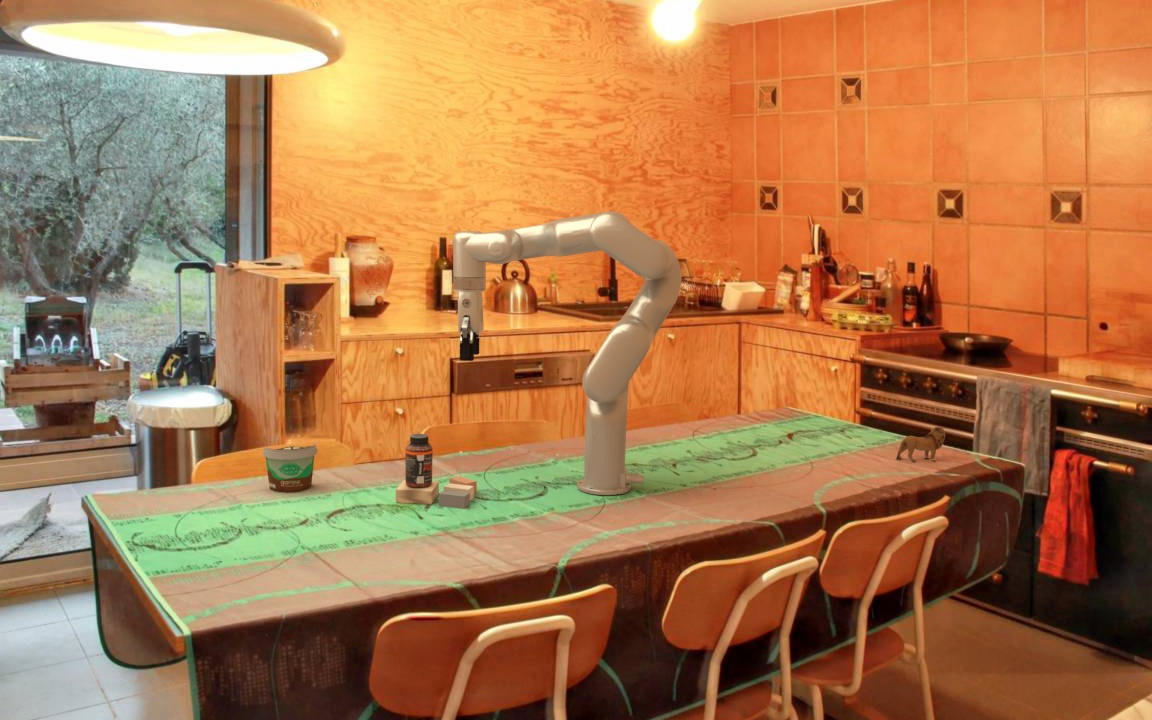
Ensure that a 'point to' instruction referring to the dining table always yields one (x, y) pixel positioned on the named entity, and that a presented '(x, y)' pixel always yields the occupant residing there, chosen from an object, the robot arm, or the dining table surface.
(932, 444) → the lion figurine
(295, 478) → the food container
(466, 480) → the brick terracotta
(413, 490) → the oak slab
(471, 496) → the brick cream
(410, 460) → the supplement bottle
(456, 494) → the brick slate
